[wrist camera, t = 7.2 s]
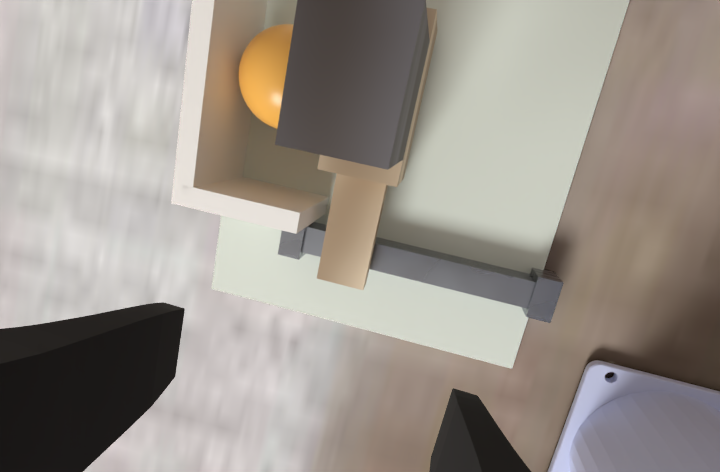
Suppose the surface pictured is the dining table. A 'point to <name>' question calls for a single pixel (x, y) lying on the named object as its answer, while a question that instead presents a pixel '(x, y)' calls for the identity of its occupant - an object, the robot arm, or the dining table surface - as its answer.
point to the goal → (227, 126)
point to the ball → (266, 72)
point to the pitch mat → (450, 174)
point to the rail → (445, 271)
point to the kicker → (356, 112)
